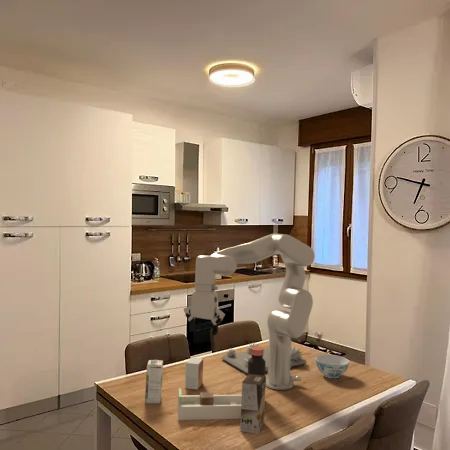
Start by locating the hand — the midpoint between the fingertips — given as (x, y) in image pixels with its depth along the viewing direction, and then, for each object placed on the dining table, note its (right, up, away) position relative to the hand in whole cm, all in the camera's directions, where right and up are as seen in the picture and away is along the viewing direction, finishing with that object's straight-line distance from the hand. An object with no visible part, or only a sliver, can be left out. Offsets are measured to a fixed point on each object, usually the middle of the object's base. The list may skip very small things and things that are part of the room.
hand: (203, 333), depth 161 cm
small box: (-5, -26, +15) cm, 30 cm away
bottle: (+20, -27, +3) cm, 34 cm away
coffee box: (+18, -27, -19) cm, 37 cm away
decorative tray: (+28, -27, +47) cm, 61 cm away
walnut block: (+2, -23, -10) cm, 26 cm away
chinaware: (+57, -28, +31) cm, 71 cm away
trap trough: (+6, -26, -10) cm, 28 cm away
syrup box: (-19, -25, -1) cm, 32 cm away
